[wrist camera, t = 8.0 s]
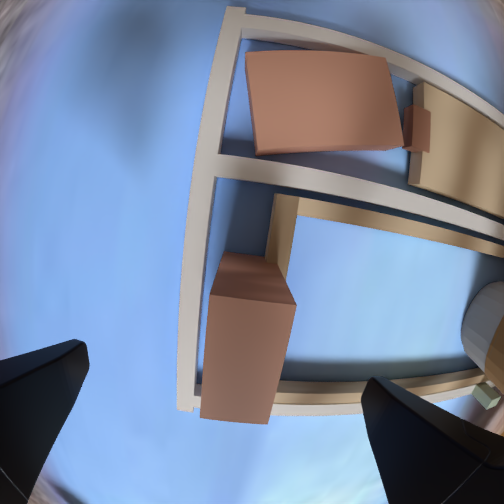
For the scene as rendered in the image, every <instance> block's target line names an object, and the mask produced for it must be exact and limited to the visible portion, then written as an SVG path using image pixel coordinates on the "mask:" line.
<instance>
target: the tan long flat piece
mask: <svg viewBox="0 0 504 504" xmlns="http://www.w3.org/2000/svg"><path fill="white" fill-rule="evenodd" d="M403 142H404V146H402V149H405V150H408V151H411V157H410V168H409V177H408V185H412V186H415V187H418V188H421V189H424V190H427V191H430V192H433V193H436V194H439V195H442V196H445V197H448V198H451V199H454V200H456V201H459V202H462V203H464V204H467V205H470V206H472V207H475V208H477V209H480V210H482V211H485V212H487V213H490V214H492V215H494V216H497V217H499V218H501V219H504V130H503V129H502V128H500V127H499V126H498V125H496V124H495V123H493V122H492V121H490V120H489V119H488V118H486V117H485V116H483V115H482V114H480V113H478V112H477V111H475V110H474V109H472V108H471V107H469V106H467V105H466V104H464V103H462V102H461V101H459V100H457V99H455V98H454V97H452V96H450V95H448V94H446V93H445V92H443V91H441V90H439V89H437V88H435V87H433V86H431V85H429V84H427V83H425V82H422V83H421V84H419V85H417V86H415V87H413V105H410V106H408V107H406V108H404V126H403Z"/></svg>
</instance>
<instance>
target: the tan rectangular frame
mask: <svg viewBox="0 0 504 504" xmlns="http://www.w3.org/2000/svg"><path fill="white" fill-rule="evenodd" d="M297 215H300V216H306V217H312V218H318V219H324V220H330V221H336V222H341V223H347V224H352V225H358V226H363V227H368V228H374V229H379V230H384V231H389V232H394V233H399V234H403V235H408V236H413V237H418V238H422V239H427V240H431V241H436V242H440V243H445V244H449V245H453V246H457V247H462V248H466V249H470V250H474V251H478V252H482V253H486V254H490V255H493V256H497V257H501V258H504V246H502V245H499V244H496V243H492V242H489V241H486V240H483V239H479V238H476V237H473V236H469V235H466V234H462V233H459V232H455V231H452V230H448V229H444V228H441V227H437V226H433V225H429V224H425V223H421V222H417V221H413V220H409V219H405V218H401V217H396V216H392V215H388V214H383V213H379V212H374V211H370V210H365V209H360V208H355V207H350V206H345V205H340V204H335V203H330V202H325V201H319V200H314V199H308V198H302V197H296V196H290V195H284V194H278V193H274V199H273V206H272V212H271V219H270V225H269V232H268V239H267V245H266V251H265V257H263V256H256V255H248V254H241V253H233V252H226V251H224V252H223V255H222V258H221V261H220V264H219V267H218V270H217V273H216V276H215V279H214V283H213V286H212V289H211V292H210V295H209V305H208V316H207V326H206V338H205V350H204V362H203V376H202V390H201V407H200V418H205V419H212V420H220V421H229V422H239V423H252V424H268V421H269V417H270V414H271V410H272V406H273V403H311V404H314V403H351V402H361V396H362V393H363V391H364V389H365V386H366V384H367V382H368V381H357V382H304V381H282V380H279V379H280V375H281V371H282V367H283V363H284V359H285V355H286V351H287V346H288V342H289V338H290V333H291V329H292V324H293V320H294V315H295V311H296V306H297V305H296V303H295V301H294V298H293V296H292V294H291V292H290V290H289V288H288V285H287V283H286V276H287V271H288V265H289V259H290V254H291V248H292V242H293V236H294V230H295V224H296V218H297ZM487 380H490V379H489V378H488V377H487V376H486V375H485V373H484V372H483V371H482V369H481V368H480V367H479V368H475V369H469V370H464V371H458V372H452V373H446V374H439V375H432V376H424V377H415V378H405V379H394V380H390V381H391V382H393V383H395V384H397V385H399V386H400V387H402V388H404V389H406V390H408V391H410V392H411V393H413V394H415V395H417V396H418V395H425V394H430V393H436V392H441V391H446V390H451V389H456V388H460V387H464V386H469V385H473V384H476V383H480V382H484V381H487Z"/></svg>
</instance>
